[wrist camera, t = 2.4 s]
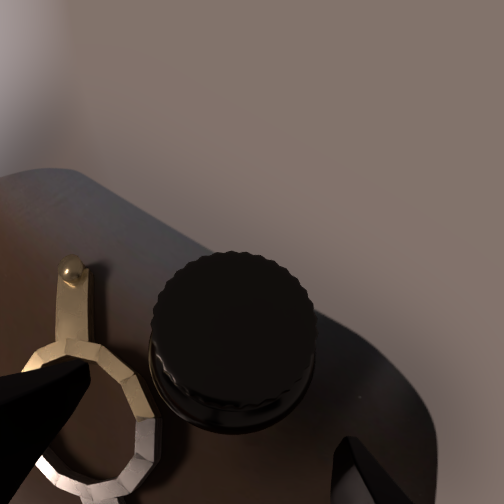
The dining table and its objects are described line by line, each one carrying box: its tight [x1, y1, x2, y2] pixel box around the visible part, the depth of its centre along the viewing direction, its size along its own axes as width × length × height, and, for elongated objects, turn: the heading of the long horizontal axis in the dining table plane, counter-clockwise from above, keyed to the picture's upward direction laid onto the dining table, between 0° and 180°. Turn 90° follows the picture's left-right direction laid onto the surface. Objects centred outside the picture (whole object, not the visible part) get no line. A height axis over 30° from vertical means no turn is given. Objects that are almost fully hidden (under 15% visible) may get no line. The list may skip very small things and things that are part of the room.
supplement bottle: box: [148, 251, 318, 435], centre depth 13 cm, size 7×7×12 cm
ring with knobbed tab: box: [22, 254, 162, 423], centre depth 17 cm, size 13×12×2 cm
